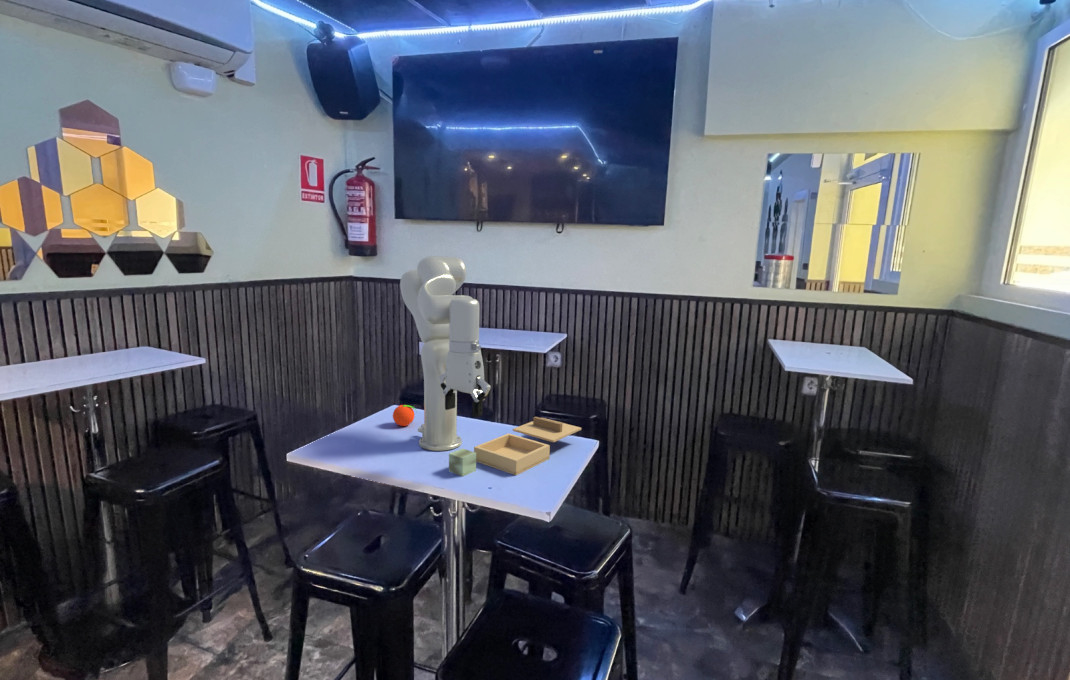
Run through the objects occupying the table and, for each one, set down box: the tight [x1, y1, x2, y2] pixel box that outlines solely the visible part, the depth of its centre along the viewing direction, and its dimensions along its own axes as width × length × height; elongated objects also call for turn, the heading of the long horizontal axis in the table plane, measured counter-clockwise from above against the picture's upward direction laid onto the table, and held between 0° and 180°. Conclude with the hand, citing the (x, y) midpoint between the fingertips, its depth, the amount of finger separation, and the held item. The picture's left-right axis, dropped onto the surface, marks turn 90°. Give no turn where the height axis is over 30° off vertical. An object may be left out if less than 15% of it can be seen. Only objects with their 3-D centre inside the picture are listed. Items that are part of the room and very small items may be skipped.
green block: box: [448, 447, 477, 477], centre depth 137 cm, size 5×5×5 cm
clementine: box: [392, 404, 418, 427], centre depth 171 cm, size 8×7×7 cm
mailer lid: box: [512, 416, 582, 443], centre depth 158 cm, size 15×15×3 cm
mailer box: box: [473, 432, 551, 476], centre depth 146 cm, size 15×15×4 cm
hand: (463, 412), depth 135 cm, fingers open, 9 cm apart
